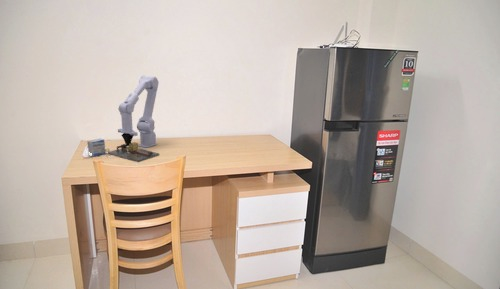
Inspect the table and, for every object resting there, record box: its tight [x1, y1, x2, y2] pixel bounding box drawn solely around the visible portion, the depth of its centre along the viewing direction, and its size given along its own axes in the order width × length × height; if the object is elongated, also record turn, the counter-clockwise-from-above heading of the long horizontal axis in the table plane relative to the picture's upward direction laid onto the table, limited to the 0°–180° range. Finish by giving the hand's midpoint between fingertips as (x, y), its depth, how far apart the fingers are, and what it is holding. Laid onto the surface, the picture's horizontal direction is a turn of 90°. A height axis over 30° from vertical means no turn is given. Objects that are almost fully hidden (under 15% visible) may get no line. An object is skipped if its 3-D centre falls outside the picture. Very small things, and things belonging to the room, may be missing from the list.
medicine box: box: [86, 138, 106, 158], centre depth 186 cm, size 8×4×9 cm, turn 149°
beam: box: [116, 143, 153, 156], centre depth 189 cm, size 6×23×3 cm, turn 61°
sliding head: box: [127, 141, 139, 153], centre depth 190 cm, size 7×3×5 cm, turn 151°
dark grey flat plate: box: [107, 146, 160, 163], centre depth 191 cm, size 16×25×1 cm, turn 61°
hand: (128, 145), depth 194 cm, fingers closed
